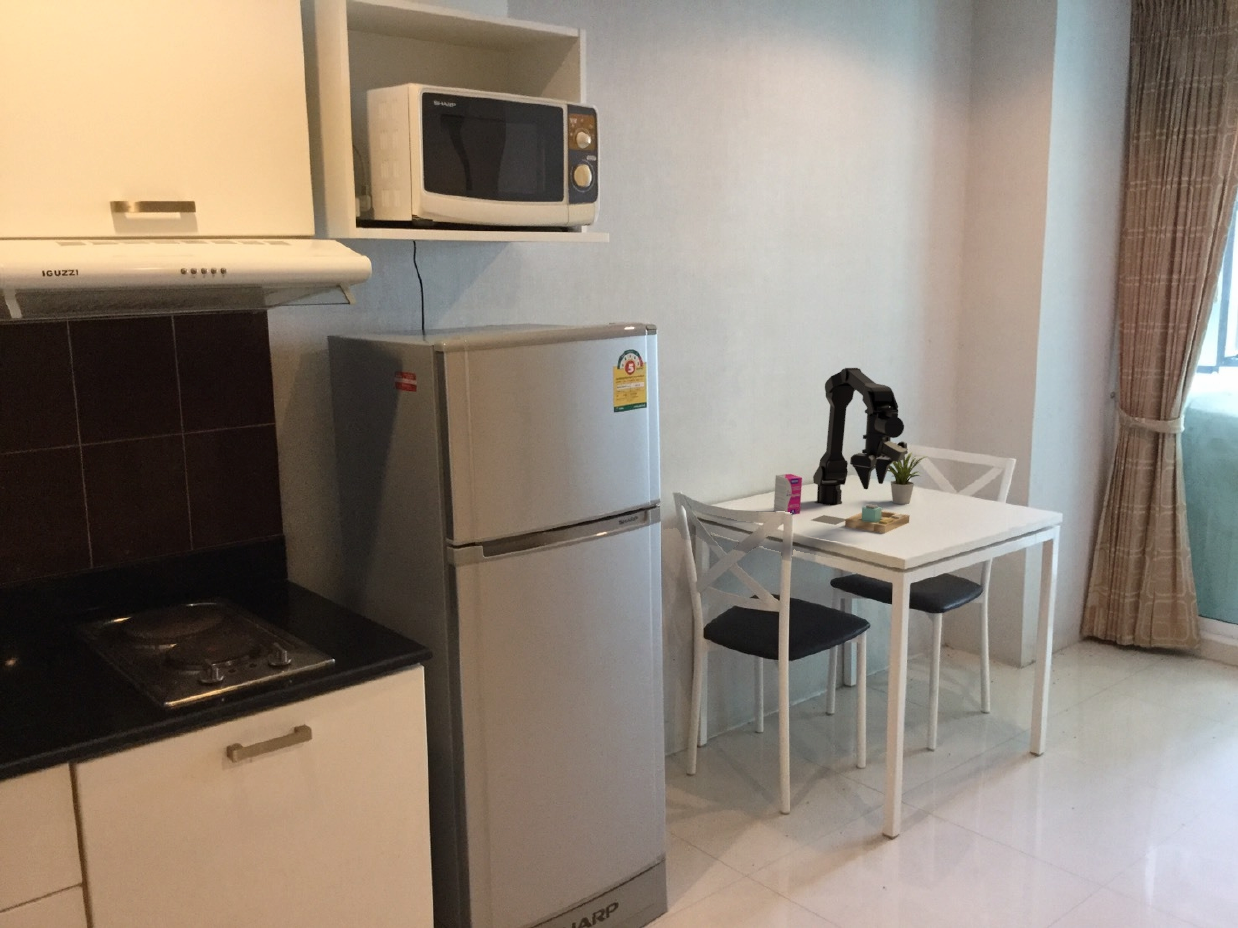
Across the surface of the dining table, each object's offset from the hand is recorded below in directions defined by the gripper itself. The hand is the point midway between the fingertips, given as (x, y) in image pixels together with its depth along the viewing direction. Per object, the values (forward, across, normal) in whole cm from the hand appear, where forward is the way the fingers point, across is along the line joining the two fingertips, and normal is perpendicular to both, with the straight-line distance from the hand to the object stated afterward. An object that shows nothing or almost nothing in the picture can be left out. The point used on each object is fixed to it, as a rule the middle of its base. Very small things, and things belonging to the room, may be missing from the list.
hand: (873, 486), depth 301 cm
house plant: (+12, +36, +6) cm, 39 cm away
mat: (+12, -2, +12) cm, 17 cm away
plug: (+12, -2, -1) cm, 12 cm away
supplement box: (+12, -2, +26) cm, 29 cm away
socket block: (+12, +2, -1) cm, 12 cm away
